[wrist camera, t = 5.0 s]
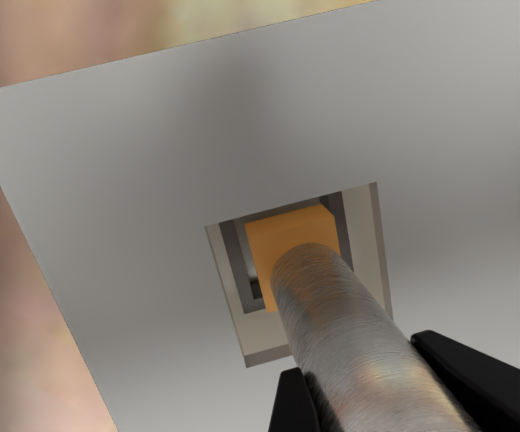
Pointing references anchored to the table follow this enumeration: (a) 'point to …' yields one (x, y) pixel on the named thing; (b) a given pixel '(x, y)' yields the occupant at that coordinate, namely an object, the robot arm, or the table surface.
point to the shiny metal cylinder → (356, 352)
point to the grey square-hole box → (271, 194)
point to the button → (287, 240)
